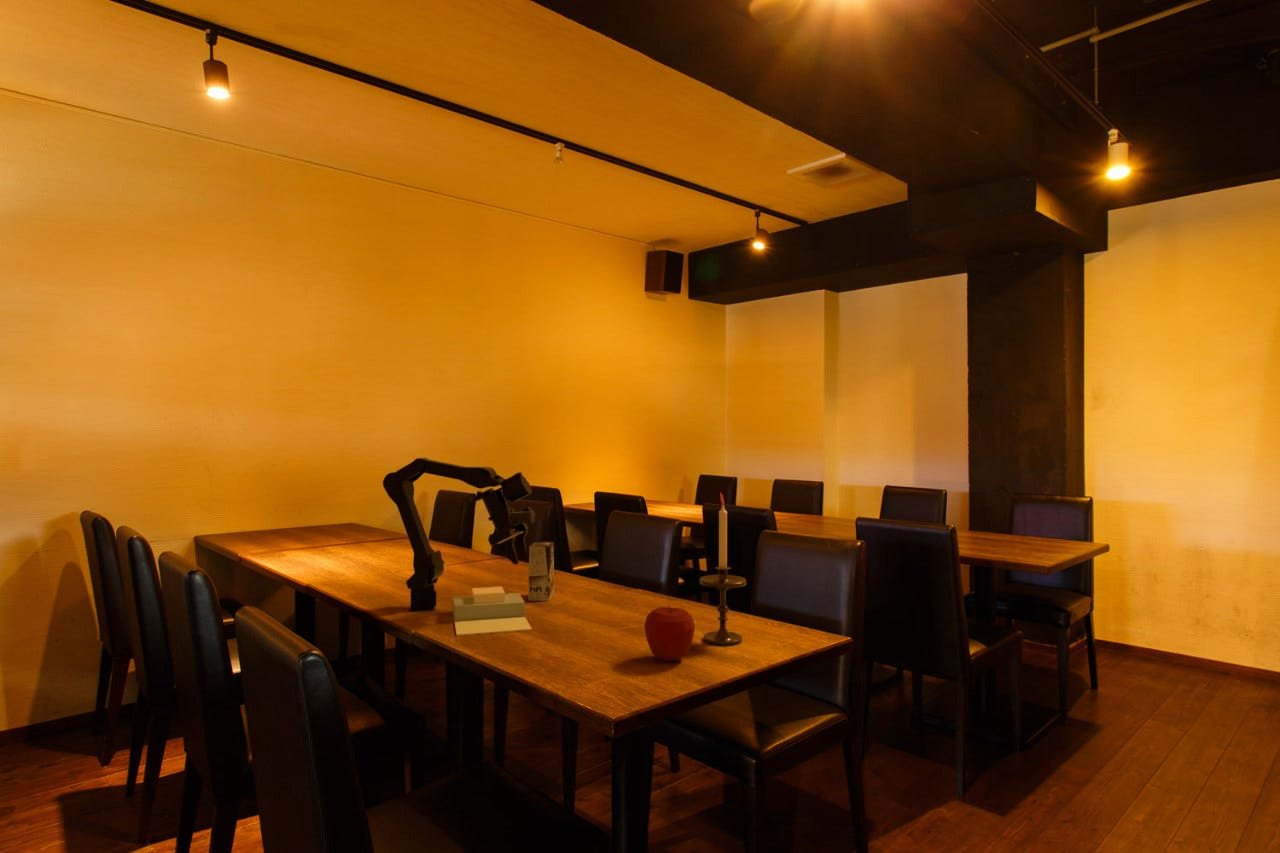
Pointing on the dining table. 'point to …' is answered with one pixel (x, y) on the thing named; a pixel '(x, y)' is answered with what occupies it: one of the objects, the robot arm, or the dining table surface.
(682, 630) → the apple
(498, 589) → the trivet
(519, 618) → the mat
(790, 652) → the dining table surface
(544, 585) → the coffee box
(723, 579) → the candlestick
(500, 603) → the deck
